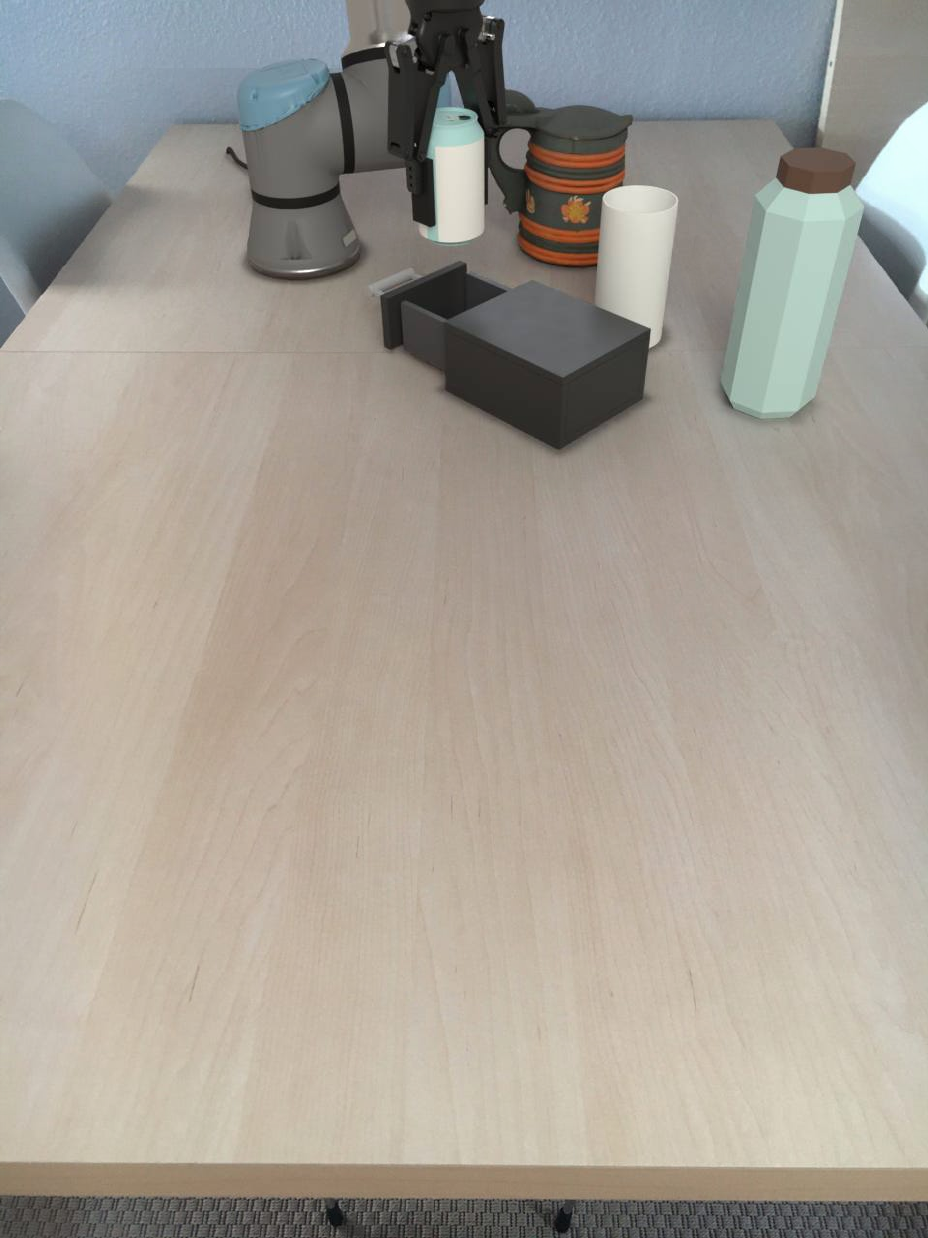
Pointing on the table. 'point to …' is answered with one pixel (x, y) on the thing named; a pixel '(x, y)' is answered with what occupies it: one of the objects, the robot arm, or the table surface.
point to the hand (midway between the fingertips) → (450, 211)
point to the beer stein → (561, 176)
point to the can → (456, 177)
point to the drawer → (428, 306)
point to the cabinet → (546, 361)
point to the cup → (636, 254)
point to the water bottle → (791, 282)
